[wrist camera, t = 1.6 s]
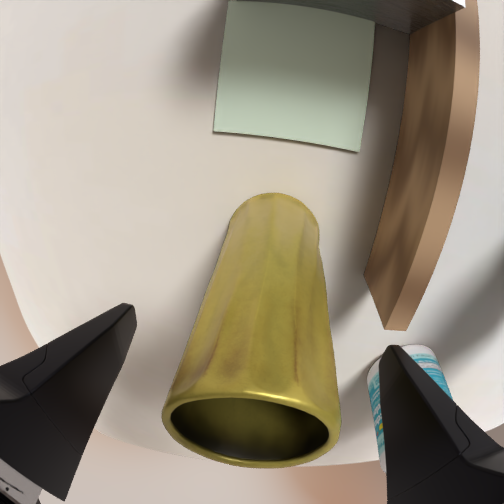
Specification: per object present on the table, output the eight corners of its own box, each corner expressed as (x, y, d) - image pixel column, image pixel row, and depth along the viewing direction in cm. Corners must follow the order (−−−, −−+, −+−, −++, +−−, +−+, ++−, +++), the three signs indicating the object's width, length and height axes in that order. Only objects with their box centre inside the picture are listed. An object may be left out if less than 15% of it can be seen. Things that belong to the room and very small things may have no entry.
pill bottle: (361, 354, 24) (384, 492, 12) (435, 330, 22) (485, 454, 10) (368, 395, 27) (383, 507, 15) (430, 376, 25) (462, 481, 13)
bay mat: (358, 151, 16) (359, 152, 16) (214, 130, 17) (213, 131, 17) (374, 22, 12) (375, 21, 12) (229, 1, 13) (228, 0, 12)
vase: (293, 286, 21) (290, 480, 9) (216, 254, 21) (137, 438, 8) (335, 216, 18) (402, 412, 6) (249, 176, 18) (163, 341, 5)
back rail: (381, 277, 20) (405, 331, 15) (363, 275, 20) (384, 329, 15) (429, 7, 11) (474, -17, 5) (410, -1, 11) (451, -31, 5)
